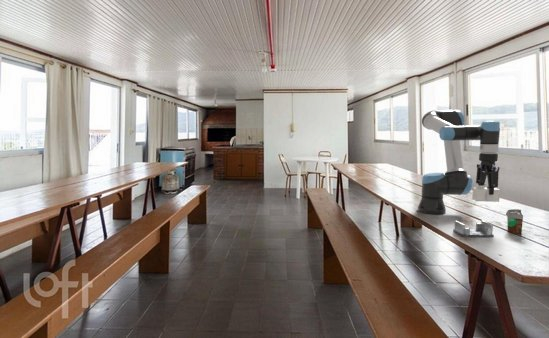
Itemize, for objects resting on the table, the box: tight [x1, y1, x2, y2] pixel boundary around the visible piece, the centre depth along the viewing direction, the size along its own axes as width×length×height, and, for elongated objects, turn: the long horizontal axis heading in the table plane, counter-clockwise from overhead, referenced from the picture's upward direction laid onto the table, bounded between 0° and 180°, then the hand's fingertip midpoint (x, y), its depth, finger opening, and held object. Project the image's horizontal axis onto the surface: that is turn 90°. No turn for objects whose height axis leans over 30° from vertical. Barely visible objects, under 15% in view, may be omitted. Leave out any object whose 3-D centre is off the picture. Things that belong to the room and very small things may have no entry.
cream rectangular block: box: [471, 186, 501, 203], centre depth 155 cm, size 10×5×6 cm, turn 80°
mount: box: [452, 220, 495, 238], centre depth 148 cm, size 14×9×6 cm, turn 88°
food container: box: [505, 208, 524, 236], centre depth 150 cm, size 12×6×10 cm, turn 145°
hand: (485, 199), depth 155 cm, fingers closed on cream rectangular block, 5 cm apart
